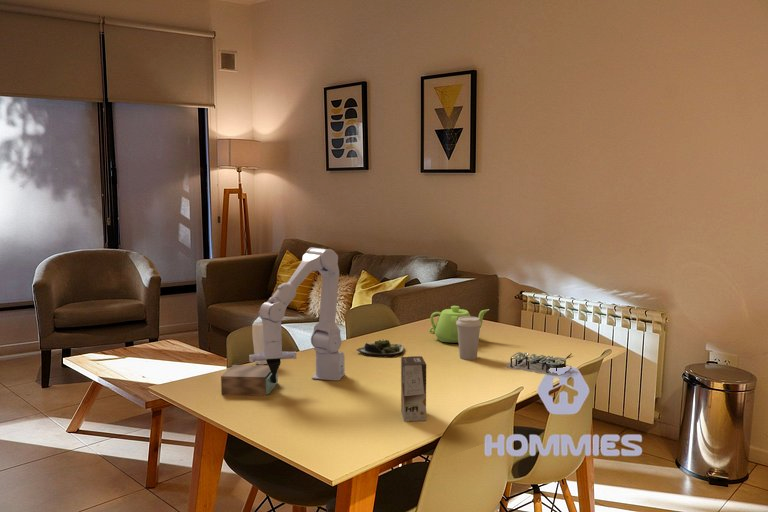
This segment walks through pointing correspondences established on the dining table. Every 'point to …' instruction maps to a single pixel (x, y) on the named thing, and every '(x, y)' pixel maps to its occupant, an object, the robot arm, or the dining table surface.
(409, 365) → the coffee box
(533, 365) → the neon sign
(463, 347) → the coffee cup
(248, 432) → the dining table surface
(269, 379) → the tray
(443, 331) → the teapot
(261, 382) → the cabinet
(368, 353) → the salad plate
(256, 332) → the white tall block
